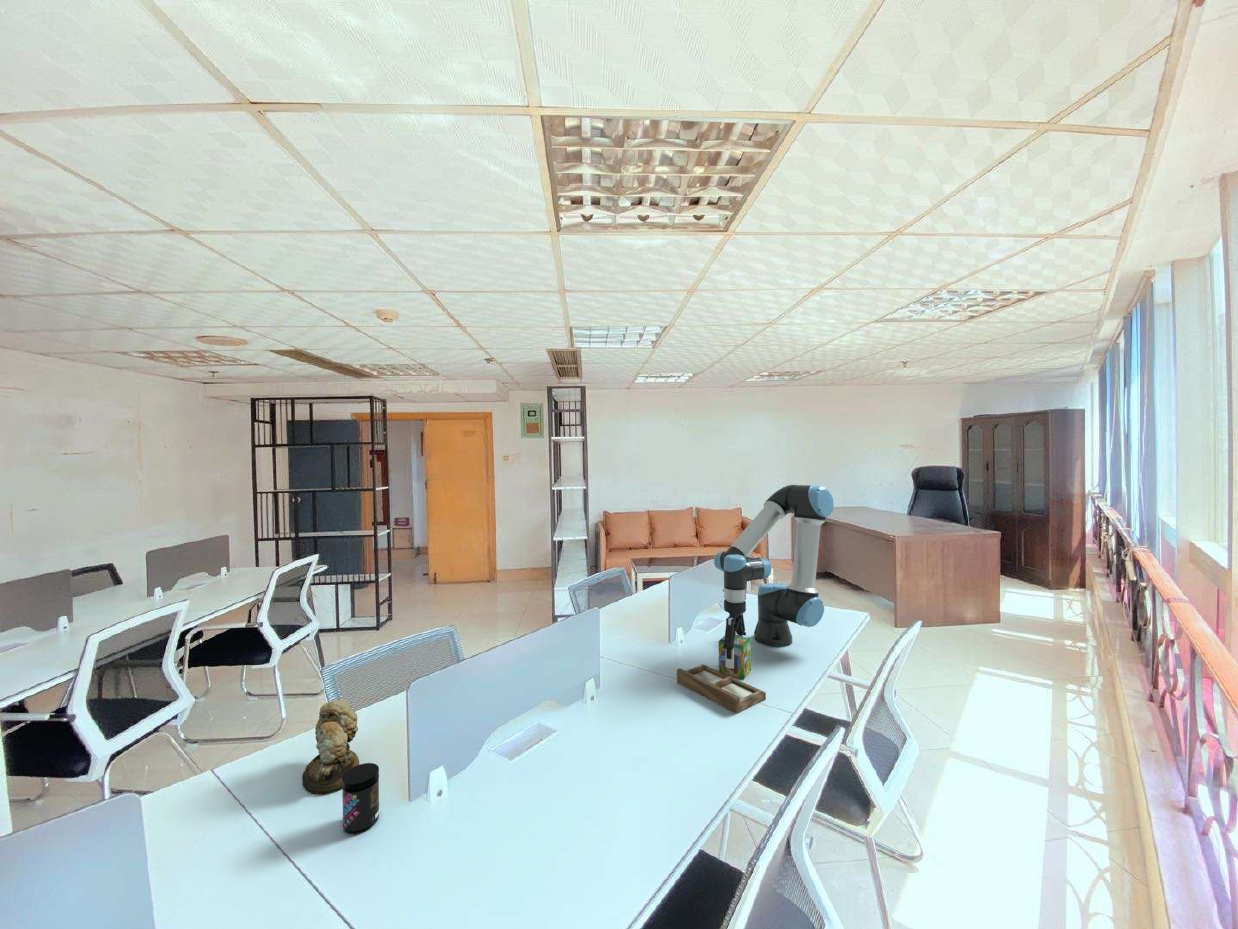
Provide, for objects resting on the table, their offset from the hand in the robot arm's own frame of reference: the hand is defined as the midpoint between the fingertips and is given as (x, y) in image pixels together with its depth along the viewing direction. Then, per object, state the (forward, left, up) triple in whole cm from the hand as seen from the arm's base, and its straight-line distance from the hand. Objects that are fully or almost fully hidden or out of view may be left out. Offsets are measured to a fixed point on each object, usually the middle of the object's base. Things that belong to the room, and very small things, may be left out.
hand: (734, 660), depth 168 cm
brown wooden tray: (+15, +6, -4) cm, 17 cm away
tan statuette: (+120, -24, -4) cm, 122 cm away
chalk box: (0, 0, -4) cm, 4 cm away
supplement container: (+117, -1, -4) cm, 117 cm away
